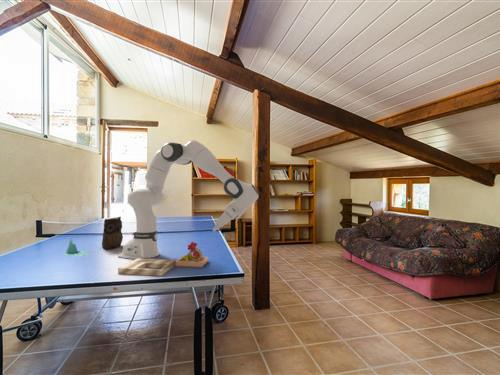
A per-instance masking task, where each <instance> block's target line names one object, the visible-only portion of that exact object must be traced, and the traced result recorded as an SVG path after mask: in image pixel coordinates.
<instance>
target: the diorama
mask: <svg viewBox="0 0 500 375" xmlns="http://www.w3.org/2000/svg"><path fill="white" fill-rule="evenodd" d="M92 254H93V252H91V251H85V250H84V251H83V250H78V248H77V246H76V244H75V243H74V242H73V238H72V239H71V238H70V239H69V243H68V246H67V249H66V252H63V253H62V255H63V256H65V257H66V256H67V257H82V256H90V255H92Z"/></svg>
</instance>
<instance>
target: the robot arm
mask: <svg viewBox="0 0 500 375" xmlns="http://www.w3.org/2000/svg"><path fill="white" fill-rule="evenodd" d="M191 163H193V164H194V165H195V166H196V167H197V168H198V169H200V170H202V171H203V172H205V173H207V174H209V175H212V176H214V177H215V178H217V179H219V181H221V182H222V183H223V190H224V193H226V195H228V197H231V198H232V200H231V201H230V202H229V203H228V204H227V205H226V206H225V209H224V212H223V213H222V214H221V215H220V216H219V217H218V218H217V220H216V222H215V225H214V226H213V228H212V229H211V230H212V231H213V232H216V231H217V230H218V229H221V228H222V227H224V226H225V225H226V224H228V223H229V222H230V221H232V220H235V219H236V220H238V219H240V218H241V216H242V215H244V214H245V212H246V211H247V210H248V209H249V208H251V207H252V206H253V205H254V204H255V202H256V201H257V200H258V199H259V196H260V192H259V191H258V188H256V186H255V185H254V184H252V183H247V182H244V181H242V180H241V179H238V178H235V177H234V176H233V175H232V174H231V173H230V172H229V171H227V170H226V169H225V168H224V167H223V165H222V163H221V162H220V161H219V160H218V158H216V156H215V155H214V153H213V152H212V151H211V150H210V149H209V148H208V147H207V146H205V145H204V144H202V143H201V142H199V141H198V140H194V139H192V140H189V141H188V142H187V143H186V144H184V145H183V144H181V143H177V142H166V143H165V144H164V145H162V147H161V149H159V150H157V151H156V152H155V154H154V155H153V157H152V159H151V160H150V163H149V166H148V168H147V171H146V174H145V176H144V179H145V180H146V184H145V185H146V186H145V188H139V189H136V190H133V191H131V192H130V193H129V194H128V197H127V201H128V205H129V206H130V207H131V208H132V209H133V211H134V214H135V219H136V220H135V221H136V231H135V232H133V233H132V236H133V237H132V238H131V239H130V240H129V241H127V242H126V243H125V244H124V245H123V247H122V252H120V253H119V254H117V255H118V256H117V257H118V258H124V259H131V260H135V259H152V258H155V257H159V255H160V252H159V248H158V247H159V246H158V230H157V226H158V222H157V221H158V219H157V216H156V215H155V214H154V211H153V208H155V207H158V206H160V205H161V204H163V202H164V200H165V194H164V192H163V191H164V185H165V182H166V179H167V176H168V174H169V171H170V169H171V167H172V165H173V164H175V165H184V166H185V165H186V166H187V165H189V164H191Z"/></svg>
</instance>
